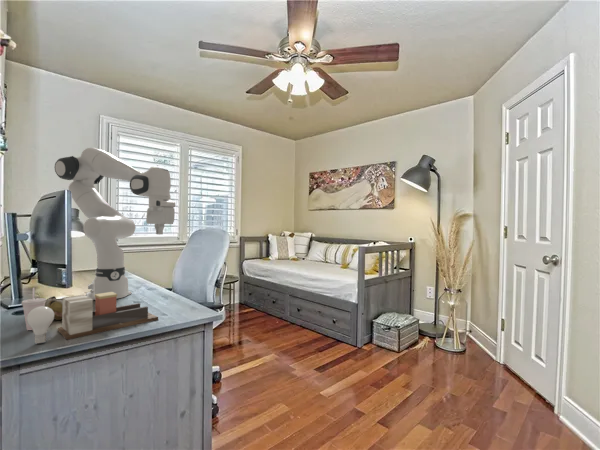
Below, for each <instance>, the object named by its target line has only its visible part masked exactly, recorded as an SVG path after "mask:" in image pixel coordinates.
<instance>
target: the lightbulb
mask: <svg viewBox="0 0 600 450" xmlns="http://www.w3.org/2000/svg"><path fill="white" fill-rule="evenodd" d="M54 320H55V319H54V312H53V310H52V309H51V308H49V307H46V306H40V307H36V308H34V309H33V310H31V311H30V312H29V314H28V315H27V323H28V325H29V326H30V327H31V328H32V329H33V330H32V333H33V334H34V343H35V344H36V345H37V344H38V345H42V344H44V343H45V342H47V332H48V330H49V327H50V325H51V324H52V323H53V322H54Z"/></svg>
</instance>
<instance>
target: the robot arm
mask: <svg viewBox="0 0 600 450" xmlns="http://www.w3.org/2000/svg"><path fill="white" fill-rule="evenodd" d="M54 172H55V174H56V176H57V177H58V178H60V179H62V180H67V181H72V182H71V183H70V184H69V185H68V191H69V190H70V191H71V193H72V196H71V198H72V200H73V202H74V203H75V204H76V205H77V207H78V208H79V209H80V211H81V212H82V213H83V215H84V216H85V217H87V219H86V221H84V223H83V233H84V234H85V236H86V237H87V238H89V239H90V240H91V242H92V243H93V245H94V247H95V250H96V263H97V264H96V266H97V267H96V269H95V277H94V278H93V280H92V281H91V283H89V284H88V285H87V289H88V290H90V291H88V292H85V296H87V297H89V298H91V299H92V300H93V301H95V300H96V297H95V294H100V293H107V292H113V293H116V294H117V297H116V300H117V299H122V298H125V297H128V296H129V295H131V294H132V291H129V279H128V277H126V276H125V274H126V269H125V266H124V265H125V251H124V250H123V248H120V247H119V245H118V243H117V239H118V240H119V239H120V240H121V239H127V238H128V237H132V236H133V235H134V234H135V232H136V225H135V224H136V223H135V222H134V221H133V220H132V219H130V218H128V217H126V216H125V215H123V214H122V213H120V212H119V211H118V210H116V209H115V208H113V207H112V206H111V205H110V204H109V203H108V202H107V201H106V199H105V198H104V197H103V196H102V194H101V193H100V192H99V191H98V190H97V189H96V187H95V185H98V184H100V182H101V181H102V180H103V179H104V177H105V178H107V179H108V178H109V179H114V180H120V181H127V182H129V189H130V192H131V193H132V194H134V195H136V196H139V197H144V198H145V197H147V198H148V208H147V209H146V217H145V219H146V224H148V225H149V224H150V225H154V229H155V234H156V235H159V236H160V235H163V233H164V228H165V225H173V224H174V223H175V213H176V212H175V208H176V202H175V201H174V200H172V199H171V194H170V192H171V182H172V181H171V180H172V179H171V174H170V170H169V169H167V168H165V167H161V166H155V165H154V166H151V167H150V168H149V169H148V170H146V171H144V172H142V171H141V170H138V169H136V168H135V167H133V166H131V165H129V164H127V162H124V161H122V159H120V158H118V157H117V156H115V155H113V154H112V153H110V152H108V151H105V150H104V149H100V148H97V147H87V148H85V149H83V151H82V152H81V154H80V156H79V157H76V156H74V155H71V156H66V157H65V156H64V157H60V158H58V159H57V160H56V161H55V163H54Z"/></svg>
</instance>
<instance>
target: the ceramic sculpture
mask: <svg viewBox="0 0 600 450" xmlns="http://www.w3.org/2000/svg"><path fill="white" fill-rule="evenodd" d="M62 305H63V298H57V297H56V296H50V297H48V298H46V302H45V306H46V307H49V308H51V309H52V310H53V312H54V319H53V320H56V321H57V320H58V321H60V320H62Z"/></svg>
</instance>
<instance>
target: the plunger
mask: <svg viewBox="0 0 600 450" xmlns="http://www.w3.org/2000/svg"><path fill="white" fill-rule="evenodd" d="M95 297H96V300H94V301H95V303H94V305H95V310H94V311H95V316H97V315H102V314H108V313H113V312H116V307H117V299H116V297H117V294H116V293H113V292H107V293H100V294H95Z"/></svg>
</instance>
